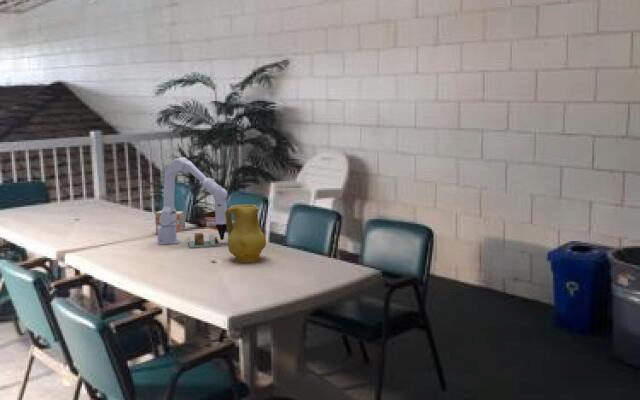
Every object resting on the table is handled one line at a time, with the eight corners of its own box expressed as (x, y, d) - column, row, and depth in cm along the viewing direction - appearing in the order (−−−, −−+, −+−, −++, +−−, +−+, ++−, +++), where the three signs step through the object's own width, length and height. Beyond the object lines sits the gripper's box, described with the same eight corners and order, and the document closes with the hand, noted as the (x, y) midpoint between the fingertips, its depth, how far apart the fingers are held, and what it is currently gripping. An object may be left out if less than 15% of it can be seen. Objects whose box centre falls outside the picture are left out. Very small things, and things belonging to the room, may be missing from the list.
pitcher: (235, 265, 284) (235, 208, 281) (221, 258, 300) (220, 204, 298) (272, 261, 292) (271, 206, 289) (256, 255, 308) (255, 202, 306)
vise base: (189, 248, 318) (189, 241, 317) (188, 243, 329) (187, 236, 329) (220, 246, 321) (220, 239, 321) (217, 241, 333) (217, 234, 332)
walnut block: (195, 245, 322) (195, 235, 321) (194, 243, 326) (194, 233, 326) (203, 244, 323) (203, 234, 322) (202, 242, 327) (202, 232, 327)
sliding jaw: (210, 245, 321) (210, 239, 321) (209, 240, 331) (208, 235, 330) (218, 244, 322) (218, 238, 322) (216, 240, 332) (216, 234, 331)
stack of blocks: (175, 227, 370) (174, 205, 368) (185, 227, 369) (184, 206, 367) (156, 234, 350) (154, 212, 348) (166, 235, 348) (165, 212, 346)
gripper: (207, 214, 319) (208, 242, 321) (236, 213, 323) (237, 240, 325) (205, 212, 326) (206, 239, 328) (234, 211, 330) (235, 237, 332)
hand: (221, 239), depth 327 cm, fingers closed
